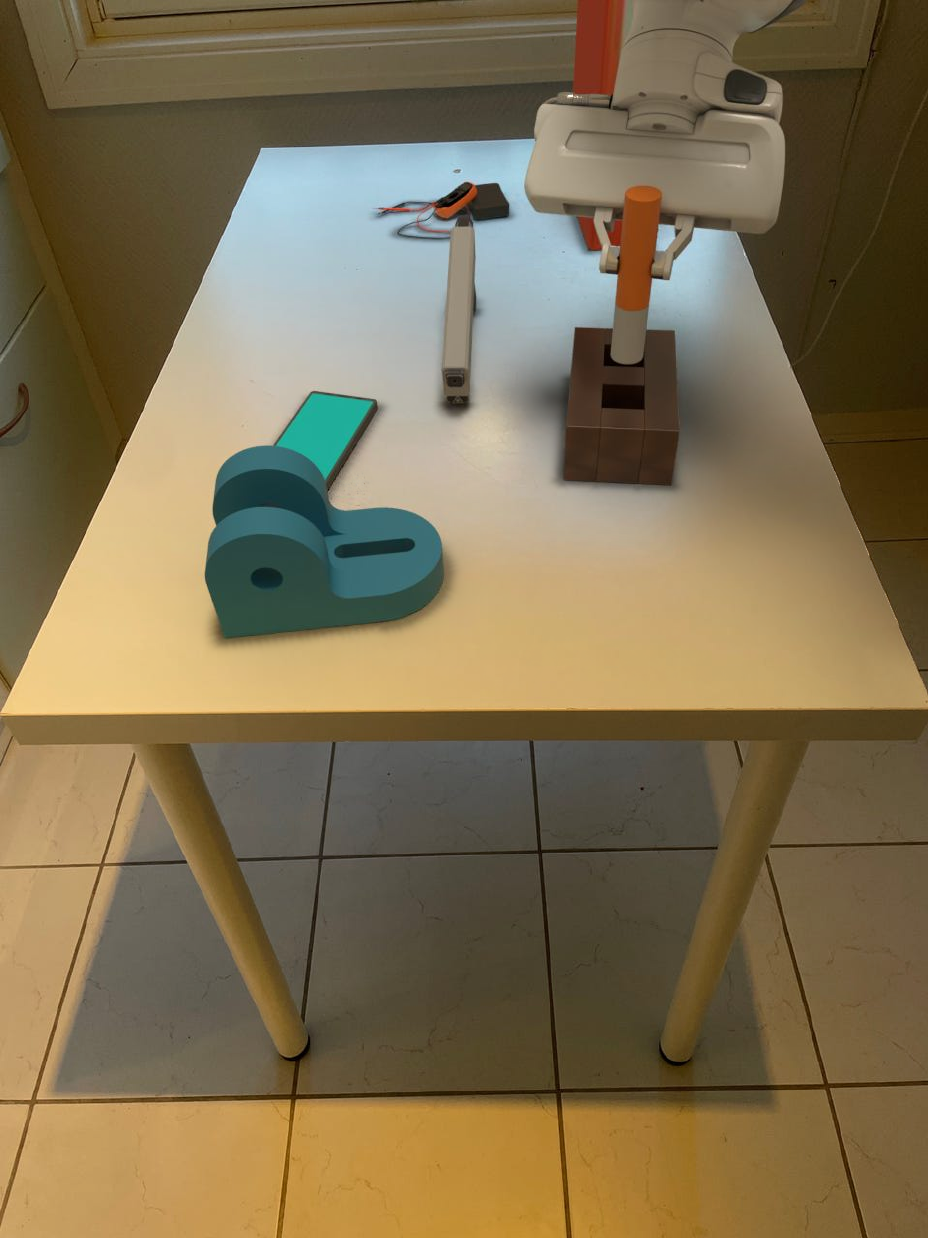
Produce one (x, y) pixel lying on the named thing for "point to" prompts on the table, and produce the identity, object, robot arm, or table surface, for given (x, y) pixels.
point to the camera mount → (310, 551)
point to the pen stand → (622, 411)
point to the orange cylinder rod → (635, 272)
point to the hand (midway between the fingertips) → (634, 274)
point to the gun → (459, 312)
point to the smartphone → (327, 429)
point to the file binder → (599, 70)
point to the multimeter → (465, 203)
